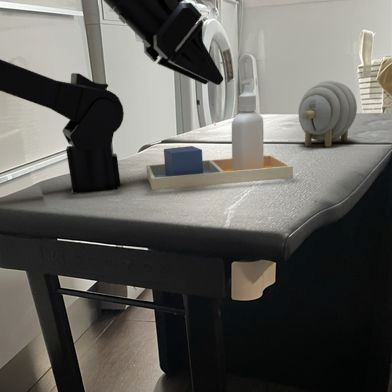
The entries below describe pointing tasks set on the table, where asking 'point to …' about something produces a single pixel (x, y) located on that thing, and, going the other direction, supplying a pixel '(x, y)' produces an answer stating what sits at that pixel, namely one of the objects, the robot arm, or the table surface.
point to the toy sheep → (327, 112)
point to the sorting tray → (219, 174)
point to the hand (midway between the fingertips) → (214, 82)
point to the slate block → (183, 161)
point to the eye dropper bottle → (247, 134)
